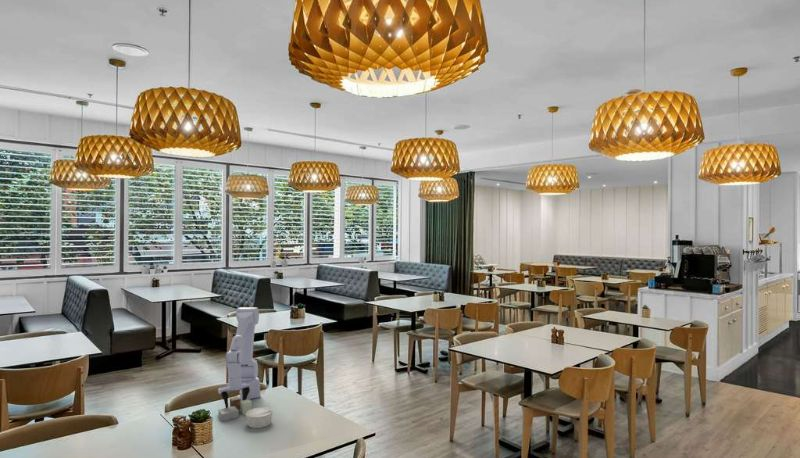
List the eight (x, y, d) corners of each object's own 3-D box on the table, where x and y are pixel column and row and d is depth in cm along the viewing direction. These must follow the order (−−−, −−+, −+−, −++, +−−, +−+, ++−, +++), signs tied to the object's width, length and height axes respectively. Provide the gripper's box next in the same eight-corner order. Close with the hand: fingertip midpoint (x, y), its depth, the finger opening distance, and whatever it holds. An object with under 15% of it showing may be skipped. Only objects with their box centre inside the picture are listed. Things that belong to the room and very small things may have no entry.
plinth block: (234, 412, 223) (234, 406, 223) (238, 417, 217) (238, 410, 217) (218, 416, 219) (218, 409, 219) (222, 421, 213) (222, 414, 213)
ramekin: (265, 430, 202) (265, 417, 202) (240, 428, 205) (240, 416, 205) (277, 419, 213) (277, 407, 213) (253, 418, 216) (253, 406, 216)
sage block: (249, 410, 226) (249, 399, 226) (251, 412, 222) (251, 401, 222) (240, 412, 224) (240, 401, 223) (242, 414, 220) (242, 403, 220)
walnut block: (238, 407, 230) (238, 396, 230) (241, 409, 227) (240, 398, 227) (230, 408, 228) (229, 398, 228) (232, 411, 224) (231, 400, 224)
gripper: (220, 381, 220) (221, 412, 220) (252, 375, 228) (253, 405, 228) (216, 377, 226) (217, 407, 226) (248, 372, 234) (249, 400, 234)
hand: (235, 406), depth 227 cm, fingers open, 7 cm apart
